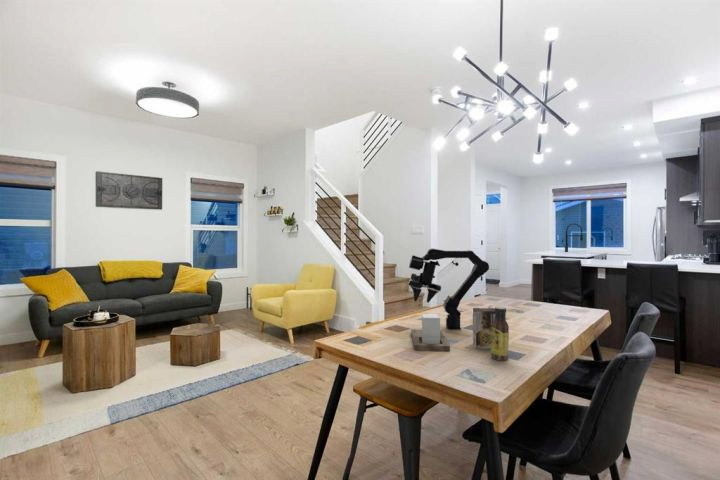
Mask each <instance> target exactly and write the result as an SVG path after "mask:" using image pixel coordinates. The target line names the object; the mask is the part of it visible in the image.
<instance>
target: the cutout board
mask: <svg viewBox="0 0 720 480" xmlns="http://www.w3.org/2000/svg"><path fill="white" fill-rule="evenodd" d="M410 331H411V332H410V334H411V337H412V338H411V339H412V344H413V348H414V349H413V350H414V351H435V352H436V351H437V352H439V351H440V352H450V351H451V346H450V343H449V342H448V340H447V338H446V336H445V334H444V332H443V330H441V329H440V344H423V343H422V329H411V330H410Z"/></svg>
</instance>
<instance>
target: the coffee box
mask: <svg viewBox="0 0 720 480" xmlns="http://www.w3.org/2000/svg"><path fill="white" fill-rule="evenodd" d="M494 320H495V308H494V307H473V308H472V345H473V346H474V348H475V349H478V350H491V330H492V323H493V322H494Z"/></svg>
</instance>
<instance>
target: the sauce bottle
mask: <svg viewBox="0 0 720 480" xmlns="http://www.w3.org/2000/svg"><path fill="white" fill-rule="evenodd" d="M494 309H495V320H494V322H493V323H492V330H491V349H490V353H491V354H490V355H491V358H492V359H494V360H497V361H507V360H508V357H509V339H510V337H509V335H510V331H509V323H508V322H507V319H506V315H507V314H506V313H507V308H506V307H504V306H495V308H494Z"/></svg>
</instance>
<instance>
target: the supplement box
mask: <svg viewBox="0 0 720 480" xmlns="http://www.w3.org/2000/svg"><path fill="white" fill-rule="evenodd" d="M421 330H422V342H421V344H440V330H441V317H440V316H439V314H437V313H436V314H435V313H432V314H431V313H422V314H421Z"/></svg>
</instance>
